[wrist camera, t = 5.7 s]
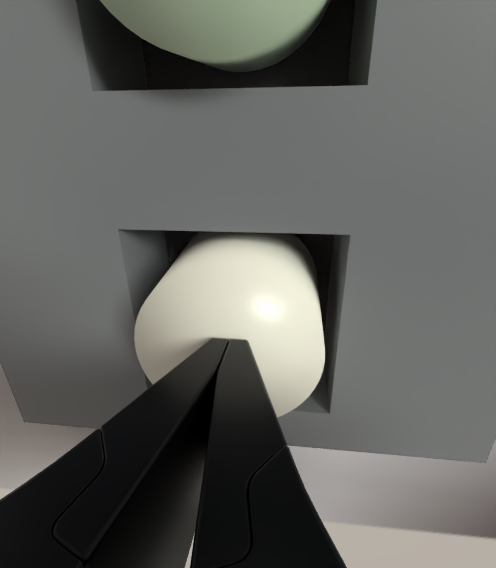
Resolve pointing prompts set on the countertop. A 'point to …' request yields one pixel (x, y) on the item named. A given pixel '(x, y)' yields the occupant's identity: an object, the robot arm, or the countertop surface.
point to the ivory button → (239, 310)
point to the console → (258, 215)
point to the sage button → (223, 28)
